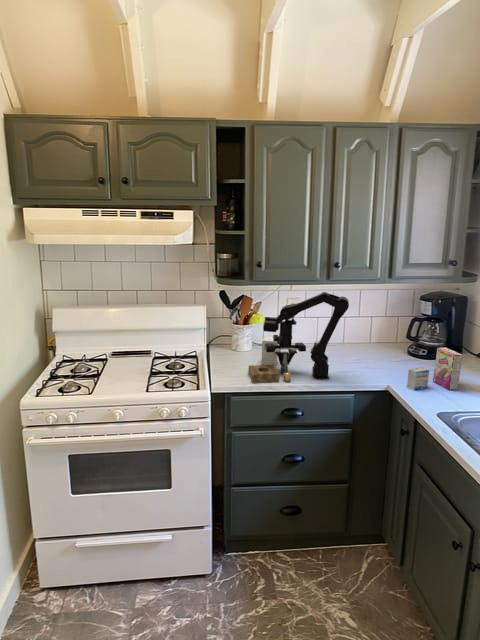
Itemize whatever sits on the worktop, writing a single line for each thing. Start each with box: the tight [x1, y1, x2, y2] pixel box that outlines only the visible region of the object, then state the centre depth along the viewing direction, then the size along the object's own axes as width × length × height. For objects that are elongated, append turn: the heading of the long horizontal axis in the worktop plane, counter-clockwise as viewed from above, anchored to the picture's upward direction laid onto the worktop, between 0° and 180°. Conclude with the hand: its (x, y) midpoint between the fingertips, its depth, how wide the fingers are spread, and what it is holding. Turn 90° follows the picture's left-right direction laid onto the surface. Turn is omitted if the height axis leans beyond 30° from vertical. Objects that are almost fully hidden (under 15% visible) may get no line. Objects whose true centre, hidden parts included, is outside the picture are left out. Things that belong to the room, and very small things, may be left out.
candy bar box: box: [432, 346, 464, 391], centre depth 210 cm, size 11×5×16 cm, turn 17°
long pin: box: [280, 351, 289, 375], centre depth 222 cm, size 3×3×10 cm
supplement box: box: [260, 336, 279, 367], centre depth 235 cm, size 7×7×13 cm
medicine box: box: [406, 366, 430, 391], centre depth 208 cm, size 8×4×9 cm, turn 114°
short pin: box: [283, 371, 292, 383], centre depth 213 cm, size 3×3×4 cm
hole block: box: [247, 364, 280, 384], centre depth 216 cm, size 12×12×4 cm
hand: (284, 364), depth 222 cm, fingers closed on long pin, 3 cm apart
